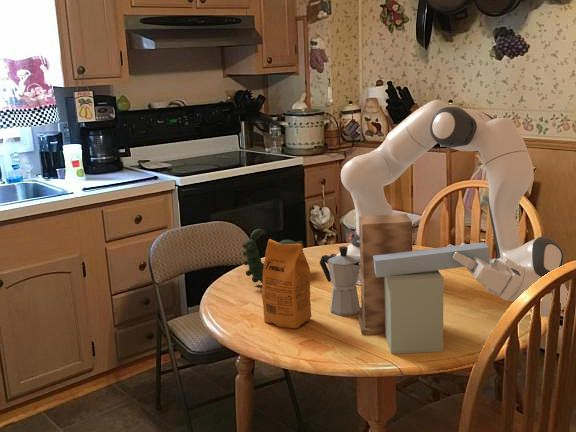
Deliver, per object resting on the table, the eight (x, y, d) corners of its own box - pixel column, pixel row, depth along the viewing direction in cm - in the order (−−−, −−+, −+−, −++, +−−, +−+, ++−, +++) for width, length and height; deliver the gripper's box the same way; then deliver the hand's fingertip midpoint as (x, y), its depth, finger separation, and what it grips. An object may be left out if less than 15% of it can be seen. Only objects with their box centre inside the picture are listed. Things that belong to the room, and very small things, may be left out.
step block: (391, 353, 152) (390, 280, 148) (385, 335, 162) (384, 266, 157) (443, 351, 152) (443, 278, 147) (433, 333, 161) (434, 264, 157)
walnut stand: (361, 334, 163) (358, 226, 156) (357, 317, 174) (354, 215, 167) (418, 331, 163) (417, 223, 156) (410, 314, 174) (409, 212, 167)
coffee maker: (373, 310, 178) (372, 247, 173) (352, 320, 172) (350, 255, 168) (332, 298, 188) (330, 238, 184) (311, 307, 182) (308, 245, 178)
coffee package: (280, 309, 182) (276, 233, 176) (317, 318, 174) (313, 239, 169) (257, 322, 174) (252, 243, 169) (294, 332, 167) (290, 249, 161)
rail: (376, 277, 151) (375, 261, 150) (374, 271, 155) (372, 255, 154) (489, 263, 150) (488, 247, 149) (484, 258, 154) (483, 242, 153)
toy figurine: (264, 298, 196) (316, 267, 214) (256, 237, 190) (310, 211, 208) (241, 291, 202) (294, 262, 220) (232, 233, 196) (287, 208, 214)
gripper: (495, 252, 162) (447, 227, 161) (524, 279, 142) (469, 252, 141) (482, 273, 163) (434, 249, 162) (508, 304, 143) (454, 276, 142)
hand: (450, 250), depth 151 cm, fingers closed on rail, 4 cm apart
